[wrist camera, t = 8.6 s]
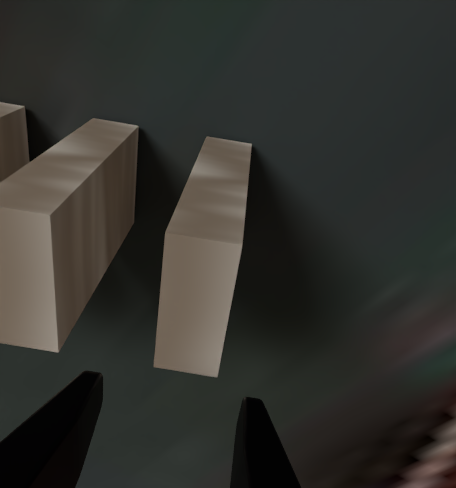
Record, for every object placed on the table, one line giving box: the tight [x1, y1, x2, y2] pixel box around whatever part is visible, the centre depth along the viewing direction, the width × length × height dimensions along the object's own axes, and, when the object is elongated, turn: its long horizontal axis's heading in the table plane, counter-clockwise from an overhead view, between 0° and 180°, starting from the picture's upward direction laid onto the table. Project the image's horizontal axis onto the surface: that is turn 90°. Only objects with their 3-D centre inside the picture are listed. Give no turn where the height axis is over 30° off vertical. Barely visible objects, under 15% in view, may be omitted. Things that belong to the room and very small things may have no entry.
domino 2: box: [0, 118, 139, 352], centre depth 16 cm, size 2×5×9 cm, turn 171°
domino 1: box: [154, 136, 252, 377], centre depth 16 cm, size 2×5×9 cm, turn 171°
